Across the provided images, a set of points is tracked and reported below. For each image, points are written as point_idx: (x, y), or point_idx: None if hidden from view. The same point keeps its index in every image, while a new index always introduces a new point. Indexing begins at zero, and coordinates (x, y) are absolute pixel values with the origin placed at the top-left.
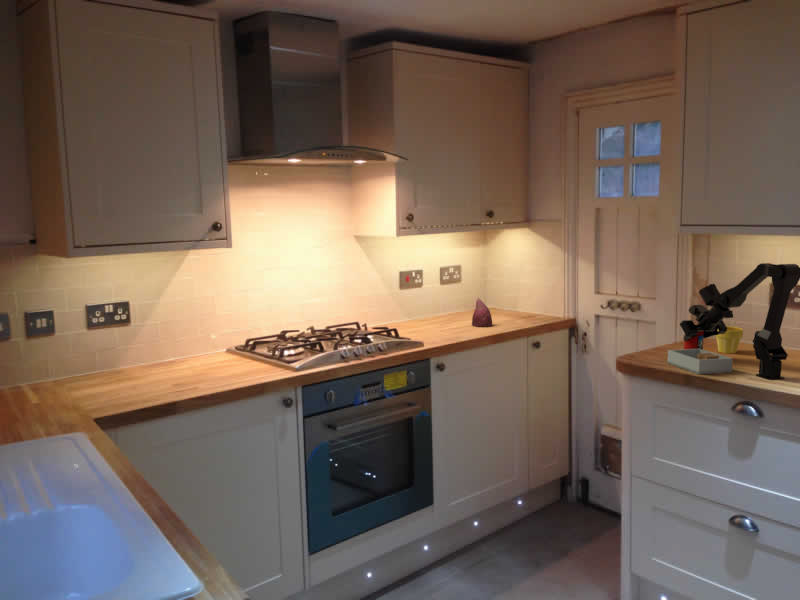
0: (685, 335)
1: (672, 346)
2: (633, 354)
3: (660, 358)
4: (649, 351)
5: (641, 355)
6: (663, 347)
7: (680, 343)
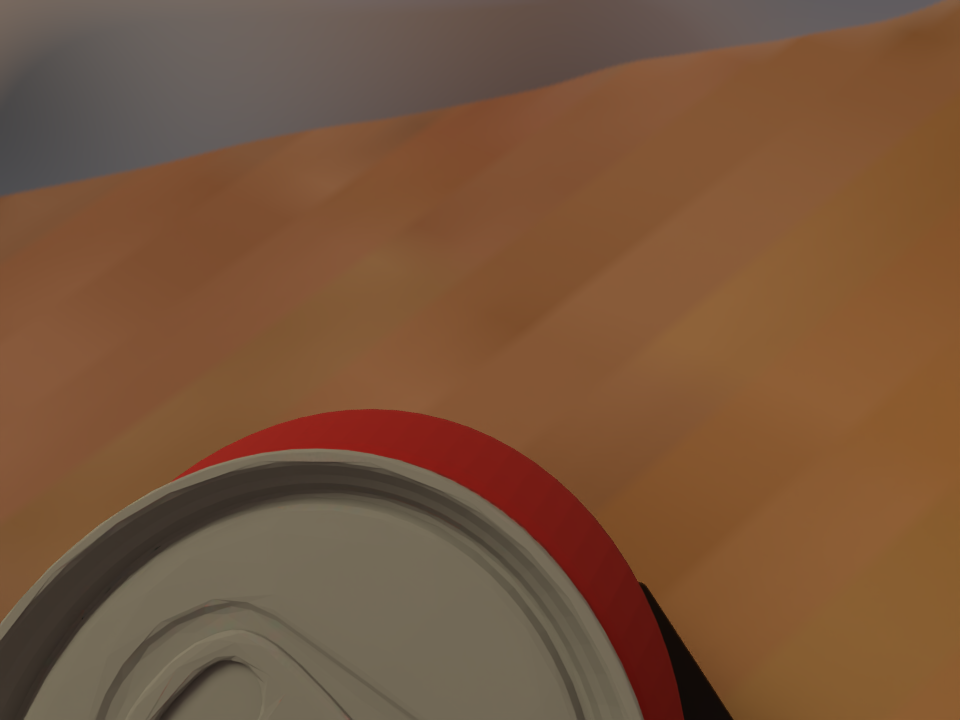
0: None
1: (712, 100)
2: (13, 200)
3: (30, 463)
4: (280, 168)
5: (27, 263)
6: (580, 98)
7: (915, 37)
